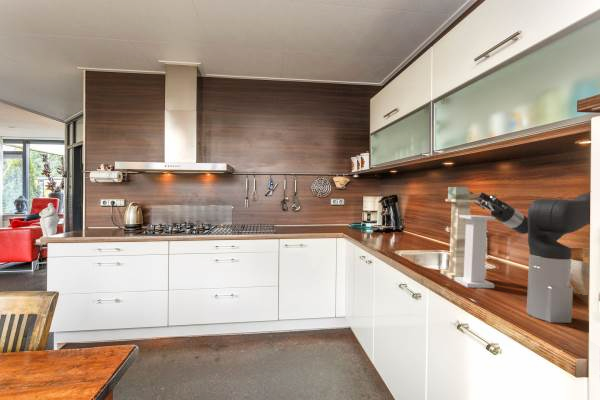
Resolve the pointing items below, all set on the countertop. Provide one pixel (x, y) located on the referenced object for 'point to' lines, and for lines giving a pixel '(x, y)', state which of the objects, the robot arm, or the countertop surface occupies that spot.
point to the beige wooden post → (457, 237)
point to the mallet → (463, 194)
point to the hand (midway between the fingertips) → (474, 194)
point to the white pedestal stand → (475, 252)
